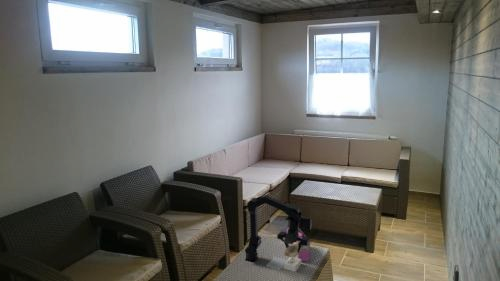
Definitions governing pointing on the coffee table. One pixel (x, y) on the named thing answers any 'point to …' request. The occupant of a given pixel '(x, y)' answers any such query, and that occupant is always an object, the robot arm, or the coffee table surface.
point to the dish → (292, 264)
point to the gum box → (302, 248)
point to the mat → (276, 263)
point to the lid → (292, 250)
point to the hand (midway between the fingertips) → (293, 251)
